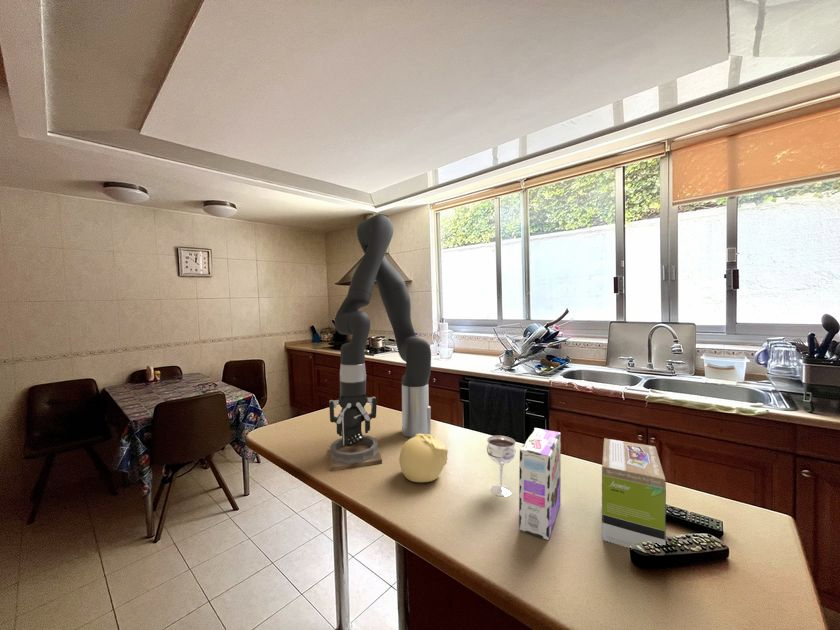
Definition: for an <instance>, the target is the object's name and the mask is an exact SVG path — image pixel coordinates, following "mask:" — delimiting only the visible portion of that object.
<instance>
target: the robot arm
mask: <svg viewBox="0 0 840 630" xmlns="http://www.w3.org/2000/svg"><path fill="white" fill-rule="evenodd" d="M393 226H394V225H393V222H392V221H391V220H390V218H389V217H388V216H387V215H385V214H379V213H378V214H375V215H373V216H370V217H369V218H366V219H364V220H363V221H361V222H360V223H359V224H358V225H357V228H356V236H357V240H358V242H359V244H360V248H361V249H362V252H363V253H364V255H363V256H362V259H361V260H360V262H359V264H357V266H356V269H355V271H354V273H353V275H352V277H351V281H350V285H349V288H348V291H347V295H346V296H345V298H344V300H343V302H342V303H341V305H340V307H339V308H338V310H337V312H336V315H335V317H334V328H335V330H336V331H337V333H338V334H340V335H348V336H351V340H350V342H346V343H344V344H342V345H341V347H340V368H339V399H336V400H333V399H330V400H329V403H328V405H329V421H330V422H331V423H335V424H336V434H337V435H338V436H339V437H342V424H341V421H342V417H344V412H345V410H346V409H349V408H350V407H357V408H358V409H359V411H360V412H361V413H362V414H363V416H364V417H365V421H364V432H365V434H369V432H370V431H371V420H372V419H376V418H377V404H378V402H377V401H378V400H377V398H376V396H374V395H373V396H370V397H367V374H366V373H367V371H366V363H365V362H366V357H365V356H366V355H365V353H366V351H365V350H366V347H367V342H368V337H369V334H370V331H371V320H370V317H369V315H368V313H367V312H365V311H362V310H360V309H362V308H364V307H366V306H368V305H369V304H370V303H371V299H372V296H373V291H374V287H375V283H376V285H377V288H378V289H377V290H378V292H379V296H380V298H381V301H382V304H383V306H384V309H385V312H386V314H387V318H388V320H389V323H390V325H391V328H392V331H393V335H394V338H395V343H396V348H397V352H398V355H399V357H400V358H401V360H402V361H404V362H405V373H404V374H403V375H402V376H401V409H402V410H401V412H402V413H401V414H402V416H401V423H402V425H401V428H402V435H403V436H405V437H407V438H410V439H411V438H413V437H415V435H416V434H431V435H432V433H431V431H432V428H431V425H432V424H431V409H432V407H431V406H430V405H429V396H430V394H429V380H430V376H431V370H432V350H431V345H430V344H429V343H428V341H427V340H425V339H423V338H419V337H418V336H417V335H416V332H415V329H414V326H413V323H412V318H411V316H412V315H411V298H410V294H409V291H408V288H407V285H406V282H405V279H404V278H403V277H402V275H401V274H400V273H399V272H398V271H397V270H396V269H395V268H394V266H393V265H392V264H391V263H390V262H389V260H388V259H387V257H386V253H387V250H388V249H389V245H390V244H391V240H392V239H393V235H394V227H393ZM367 403H369V405H370V406H371V408H370V410H371V411H370V413H368V412H367V410H366V408H365V407H366V404H367ZM337 405H338V406H340V407H341V409H340V412H339V413H338V415H337V416H335V409H337V407H338V406H337ZM363 407H364V408H363ZM342 409H344V410H343V411H342Z"/></svg>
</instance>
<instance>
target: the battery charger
mask: <svg viewBox="0 0 840 630" xmlns="http://www.w3.org/2000/svg"><path fill="white" fill-rule="evenodd" d="M363 408H365V406H364V407H363ZM341 409H342V408H341ZM343 410H344V409H342V411H343ZM363 422H365V417H364V416H363V414H362V413H361V412H360V411H359V409H358V408H357V407H350V408H349V409H346V410H345V412H344V417H342V421H341V424H342V436H341V438H342V445H343V446H353V445H355V444H357V443H359V442H361V441H362V440H363V432H362V423H363Z"/></svg>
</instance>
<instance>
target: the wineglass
mask: <svg viewBox="0 0 840 630" xmlns="http://www.w3.org/2000/svg"><path fill="white" fill-rule="evenodd" d="M486 441H487V443H488V444H487V445H486V452H487V455H488V457H489V458H490V459H491V460H492V461H493V462H495V463H496V464H498V465H499V484H494V485H492V486H491V487H490V491H491V493H493V495H495V496H499V497H508V496H510V495H512V492H513V491H512V489H511V488H510V487H509V486H507V485H504V484H503V473H504V472H503V468H504V465H506V464H509V463H510V462H511V461H512V460H514V459H515V456H516V452H517V450H516V447H515V445H516V440H515V439H513V438H512V437H509V436H505V435H491V436H490V437H488V438H487V439H486Z"/></svg>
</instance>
